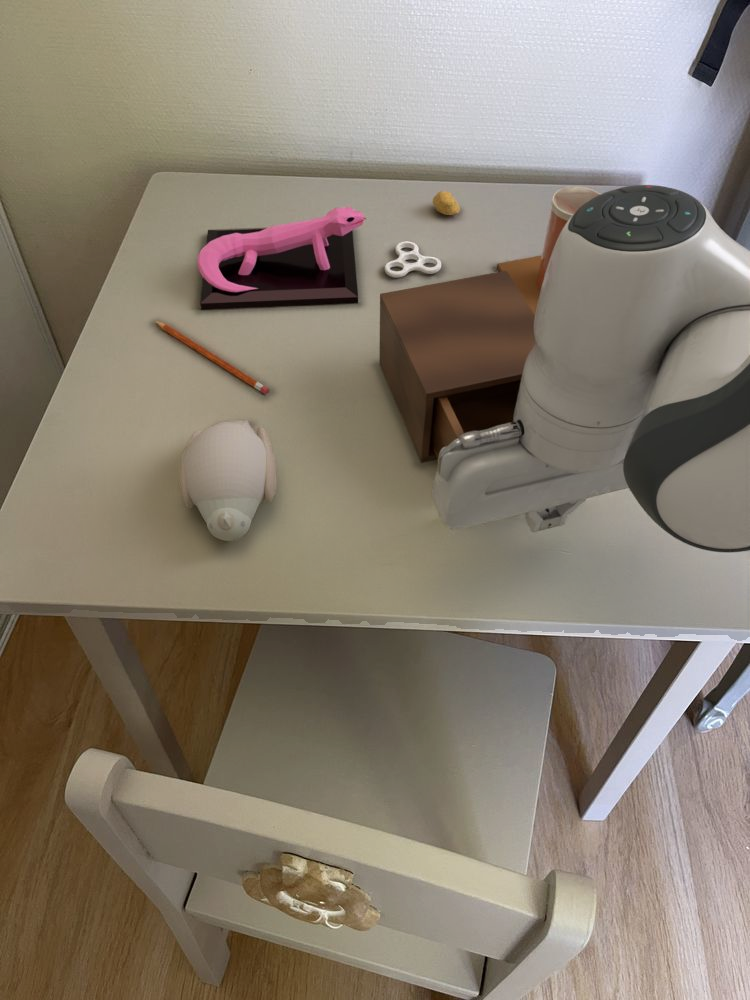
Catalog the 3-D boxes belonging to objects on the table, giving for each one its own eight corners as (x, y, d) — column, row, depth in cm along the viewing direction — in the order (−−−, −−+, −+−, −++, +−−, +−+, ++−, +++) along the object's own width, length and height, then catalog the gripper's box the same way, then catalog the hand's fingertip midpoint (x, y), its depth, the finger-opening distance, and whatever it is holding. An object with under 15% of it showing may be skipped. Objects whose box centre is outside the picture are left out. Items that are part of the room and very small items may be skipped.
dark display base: (370, 302, 91) (370, 249, 85) (199, 309, 90) (187, 256, 85) (363, 230, 100) (362, 176, 94) (207, 236, 99) (197, 182, 93)
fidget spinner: (387, 280, 94) (387, 274, 93) (377, 248, 97) (377, 243, 97) (443, 273, 94) (444, 268, 94) (431, 242, 98) (431, 237, 98)
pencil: (264, 396, 82) (263, 391, 82) (153, 325, 89) (152, 320, 89) (270, 391, 83) (269, 387, 82) (158, 321, 89) (157, 316, 89)
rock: (455, 222, 101) (457, 202, 99) (427, 214, 102) (428, 194, 100) (465, 209, 103) (467, 189, 101) (437, 201, 104) (439, 181, 102)
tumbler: (571, 266, 95) (592, 182, 86) (592, 295, 91) (616, 211, 82) (527, 274, 94) (543, 190, 85) (547, 304, 90) (565, 220, 81)
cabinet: (548, 434, 79) (566, 364, 71) (420, 463, 76) (426, 393, 69) (495, 341, 87) (506, 270, 80) (379, 364, 85) (379, 293, 77)
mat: (585, 251, 98) (586, 247, 97) (630, 310, 91) (631, 306, 90) (496, 267, 95) (497, 263, 95) (535, 329, 89) (536, 325, 88)
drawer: (597, 523, 71) (618, 469, 65) (470, 555, 69) (479, 502, 63) (522, 391, 81) (534, 333, 75) (409, 415, 79) (412, 358, 73)
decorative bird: (187, 560, 70) (169, 510, 64) (186, 429, 79) (171, 375, 73) (285, 548, 70) (277, 498, 64) (272, 420, 80) (264, 366, 74)
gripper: (456, 475, 52) (441, 582, 63) (726, 412, 55) (667, 524, 66) (426, 409, 55) (416, 521, 66) (681, 354, 59) (632, 469, 70)
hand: (543, 522), depth 66 cm, fingers closed
